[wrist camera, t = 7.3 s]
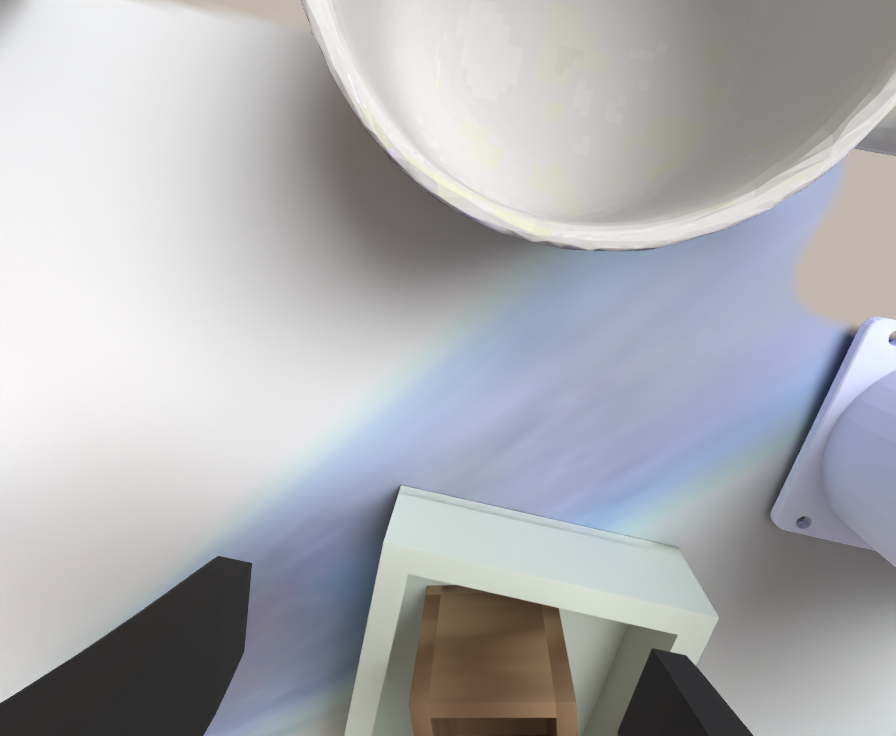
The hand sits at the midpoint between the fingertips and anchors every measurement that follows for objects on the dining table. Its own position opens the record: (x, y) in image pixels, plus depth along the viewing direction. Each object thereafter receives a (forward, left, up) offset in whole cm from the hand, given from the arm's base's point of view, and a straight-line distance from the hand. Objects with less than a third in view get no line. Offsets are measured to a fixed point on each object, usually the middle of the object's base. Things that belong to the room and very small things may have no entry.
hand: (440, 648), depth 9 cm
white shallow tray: (-4, +10, -10) cm, 15 cm away
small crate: (-4, +10, -9) cm, 14 cm away
